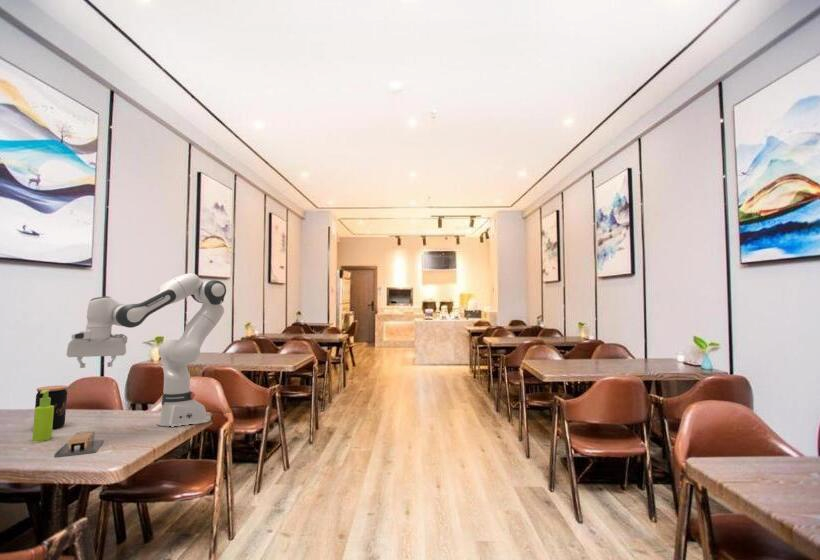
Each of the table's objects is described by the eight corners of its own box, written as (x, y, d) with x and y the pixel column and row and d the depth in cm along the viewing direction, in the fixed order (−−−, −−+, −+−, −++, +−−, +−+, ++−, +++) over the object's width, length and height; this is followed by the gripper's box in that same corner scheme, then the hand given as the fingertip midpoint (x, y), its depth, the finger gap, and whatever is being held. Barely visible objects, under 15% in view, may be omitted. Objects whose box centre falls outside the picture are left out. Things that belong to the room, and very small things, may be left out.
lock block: (92, 442, 164) (93, 432, 165) (86, 449, 156) (87, 438, 157) (74, 444, 162) (75, 433, 162) (68, 451, 154) (68, 440, 154)
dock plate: (103, 442, 168) (104, 429, 168) (95, 452, 155) (96, 439, 156) (65, 446, 162) (66, 433, 163) (54, 457, 150) (55, 443, 150)
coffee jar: (46, 432, 181) (49, 389, 183) (26, 430, 183) (30, 388, 185) (70, 425, 192) (73, 385, 193) (51, 424, 194) (55, 384, 195)
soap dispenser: (29, 443, 166) (33, 392, 167) (35, 438, 172) (39, 389, 173) (48, 441, 168) (52, 390, 170) (53, 436, 174) (57, 388, 176)
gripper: (128, 333, 186) (126, 365, 185) (71, 334, 177) (68, 367, 175) (126, 334, 180) (124, 366, 179) (66, 335, 171) (64, 369, 170)
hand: (96, 367), depth 177 cm, fingers open, 8 cm apart
